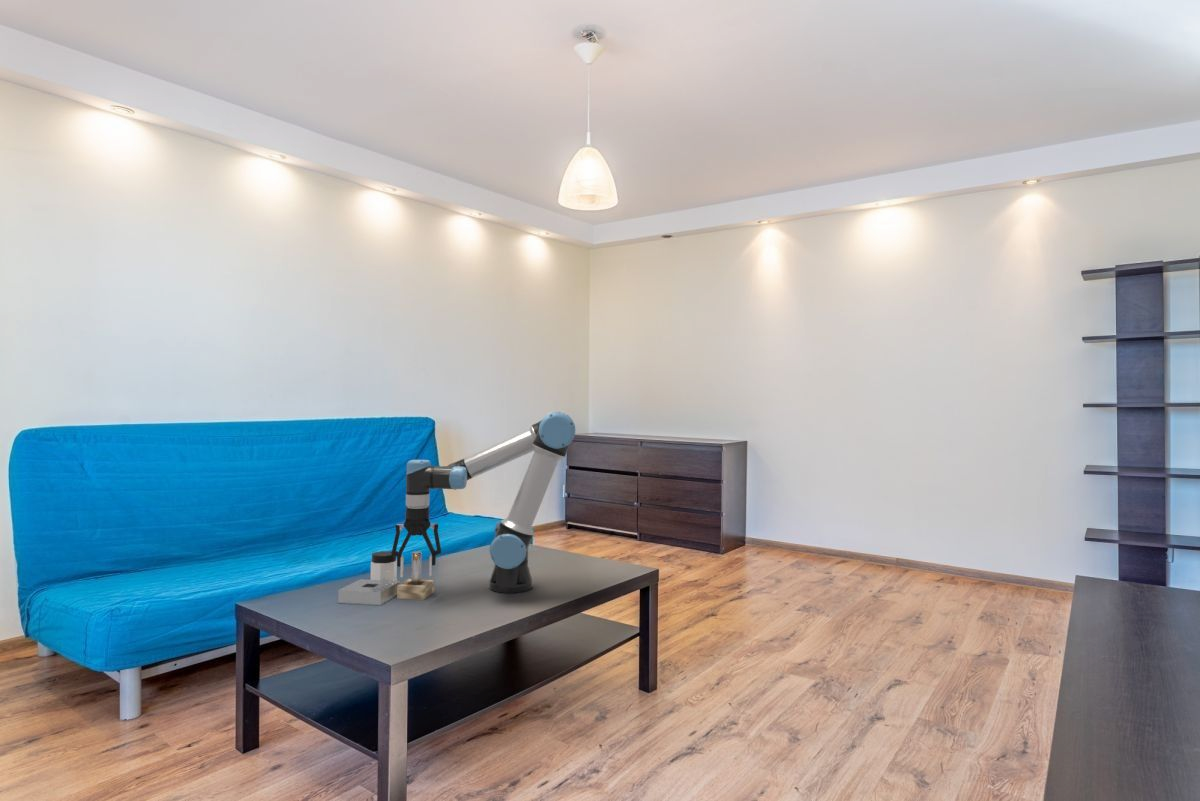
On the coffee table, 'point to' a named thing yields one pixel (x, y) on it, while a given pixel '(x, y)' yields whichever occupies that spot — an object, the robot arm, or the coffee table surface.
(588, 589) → the coffee table surface
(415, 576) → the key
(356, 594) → the block
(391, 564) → the jar
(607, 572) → the coffee table surface
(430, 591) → the holder
